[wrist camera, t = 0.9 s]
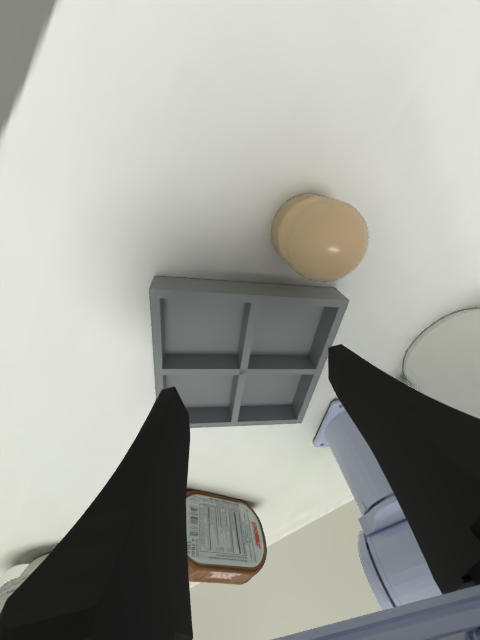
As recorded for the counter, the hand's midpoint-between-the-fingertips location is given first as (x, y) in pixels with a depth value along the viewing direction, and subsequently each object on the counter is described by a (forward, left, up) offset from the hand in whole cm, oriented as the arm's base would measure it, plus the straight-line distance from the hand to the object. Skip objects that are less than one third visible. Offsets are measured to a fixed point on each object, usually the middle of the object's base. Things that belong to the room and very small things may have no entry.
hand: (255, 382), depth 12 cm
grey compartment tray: (-1, +6, -9) cm, 11 cm away
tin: (-1, +32, -9) cm, 33 cm away
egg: (-4, -5, -9) cm, 11 cm away
